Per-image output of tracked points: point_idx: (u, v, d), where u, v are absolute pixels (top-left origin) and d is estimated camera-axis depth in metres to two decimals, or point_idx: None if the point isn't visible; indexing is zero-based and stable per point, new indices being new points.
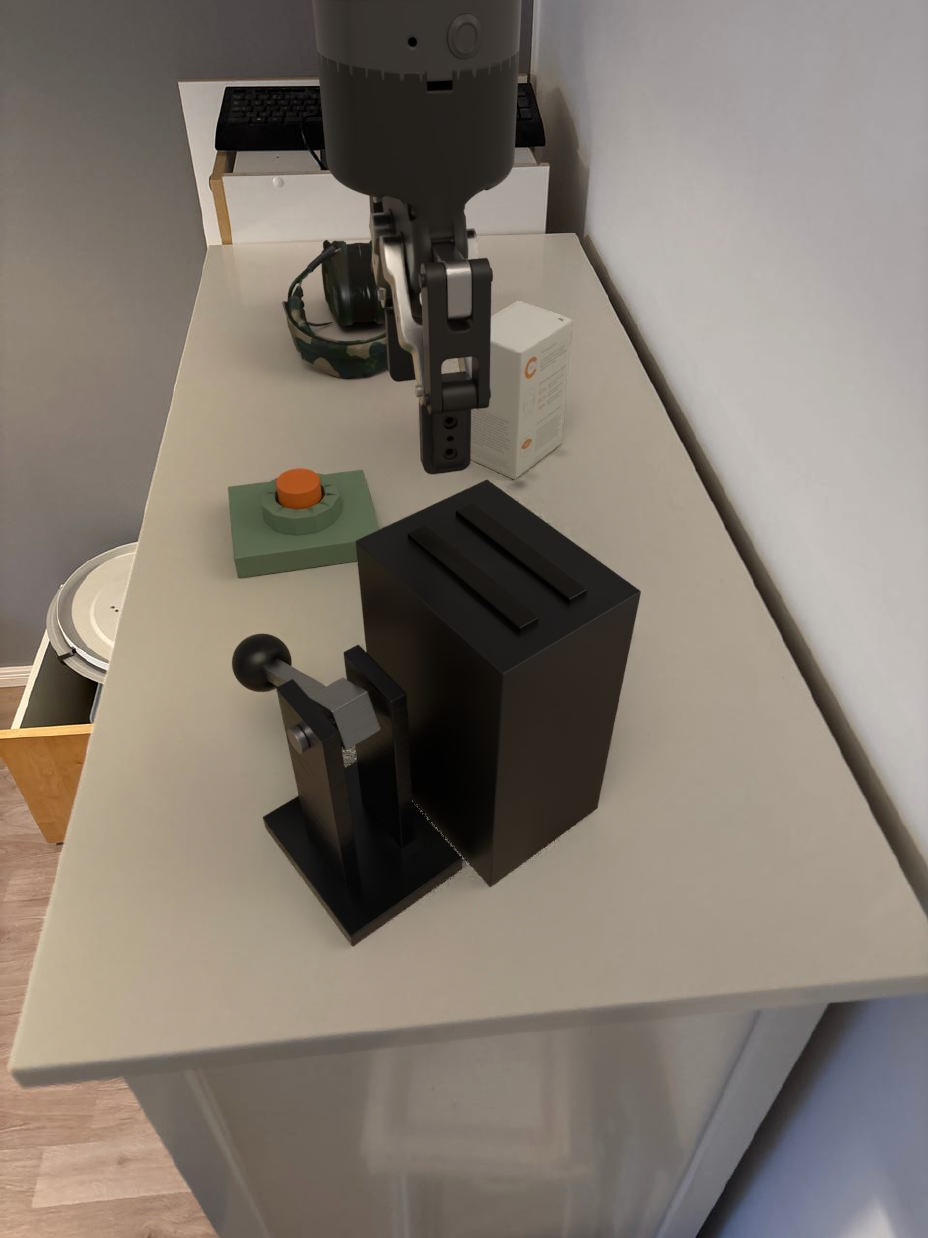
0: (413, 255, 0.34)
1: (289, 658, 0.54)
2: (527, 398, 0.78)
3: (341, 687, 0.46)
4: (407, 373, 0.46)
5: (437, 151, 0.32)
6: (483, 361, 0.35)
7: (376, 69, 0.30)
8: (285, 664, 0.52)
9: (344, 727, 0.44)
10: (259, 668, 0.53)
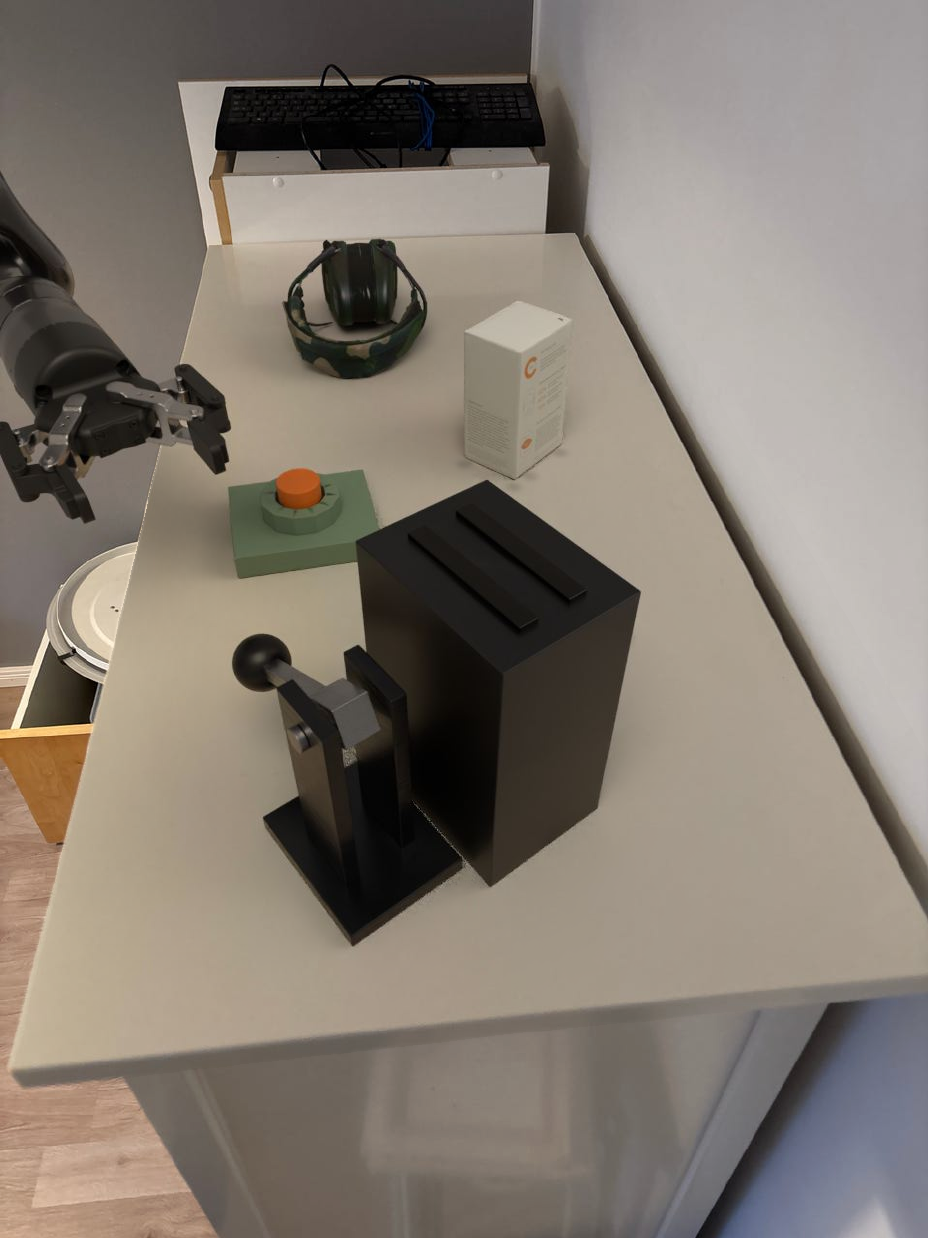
0: (148, 381, 0.61)
1: (289, 658, 0.54)
2: (527, 398, 0.78)
3: (341, 687, 0.46)
4: None
5: None
6: None
7: (104, 332, 0.63)
8: (285, 664, 0.52)
9: (344, 727, 0.44)
10: (259, 668, 0.53)
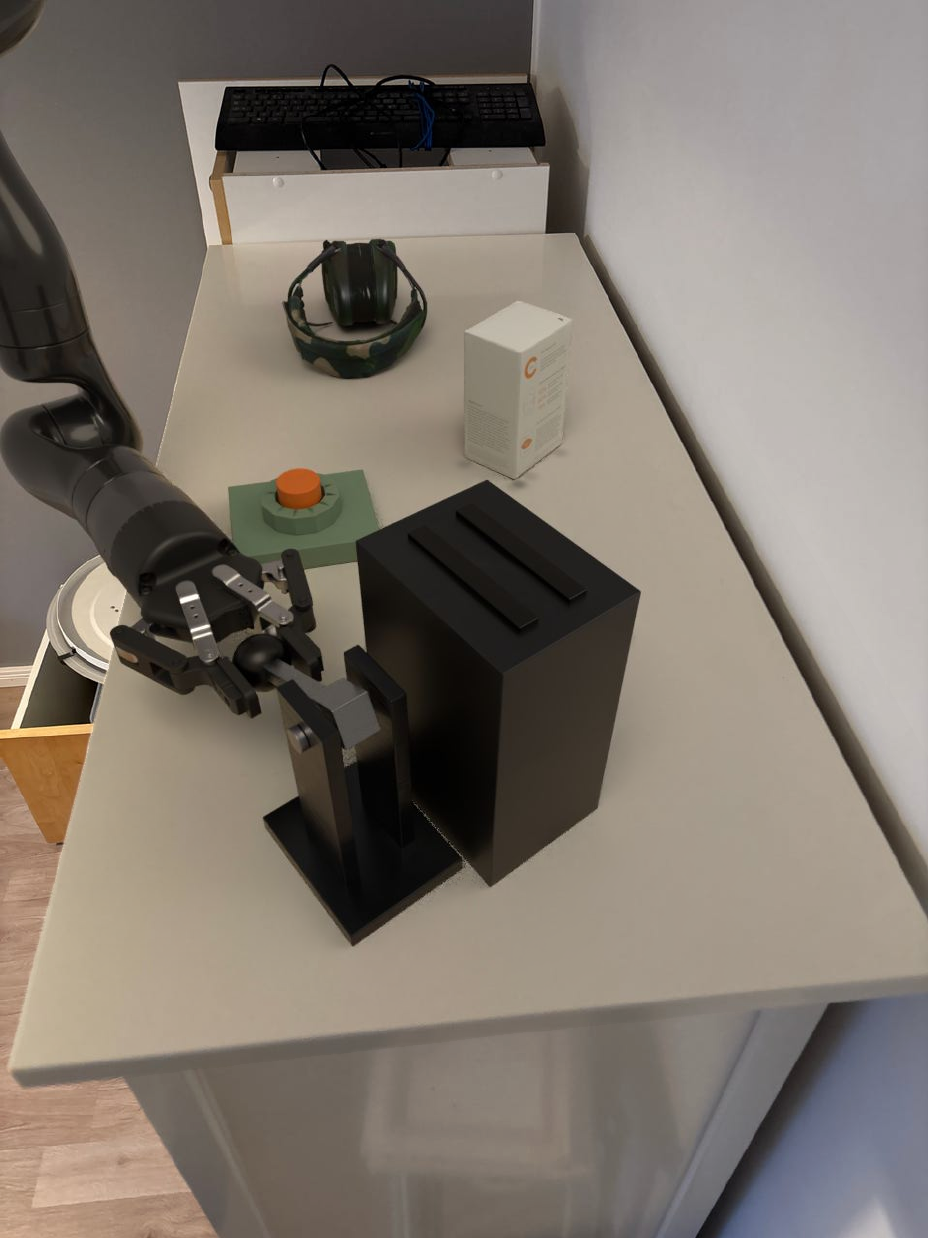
0: (250, 560, 0.60)
1: (289, 658, 0.54)
2: (527, 398, 0.78)
3: (341, 687, 0.46)
4: None
5: None
6: None
7: (198, 507, 0.62)
8: (285, 664, 0.52)
9: (344, 727, 0.44)
10: (259, 668, 0.53)
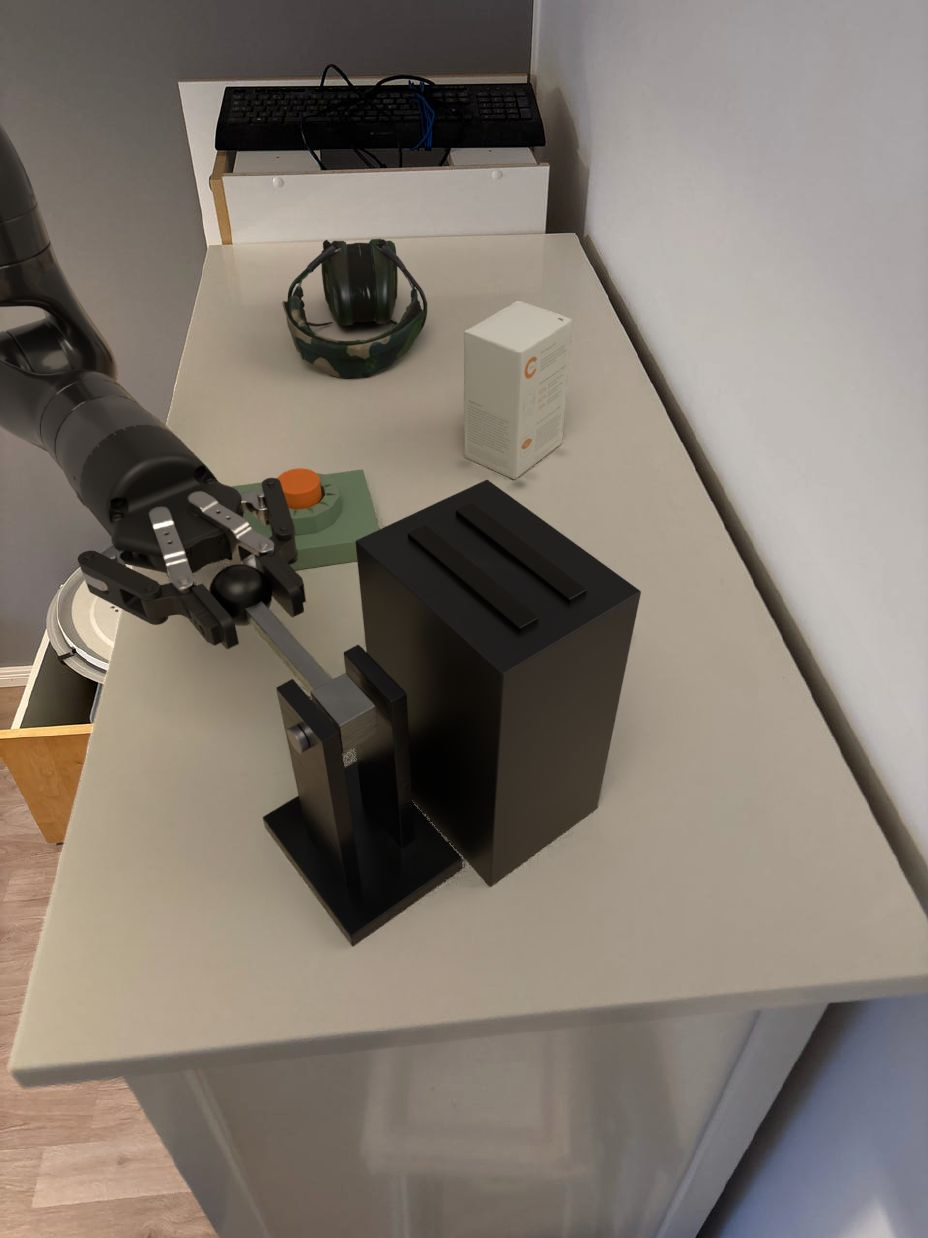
0: (229, 488, 0.57)
1: (271, 597, 0.52)
2: (527, 398, 0.78)
3: (346, 689, 0.45)
4: None
5: None
6: None
7: (174, 434, 0.59)
8: (272, 615, 0.50)
9: (347, 737, 0.45)
10: (242, 610, 0.50)
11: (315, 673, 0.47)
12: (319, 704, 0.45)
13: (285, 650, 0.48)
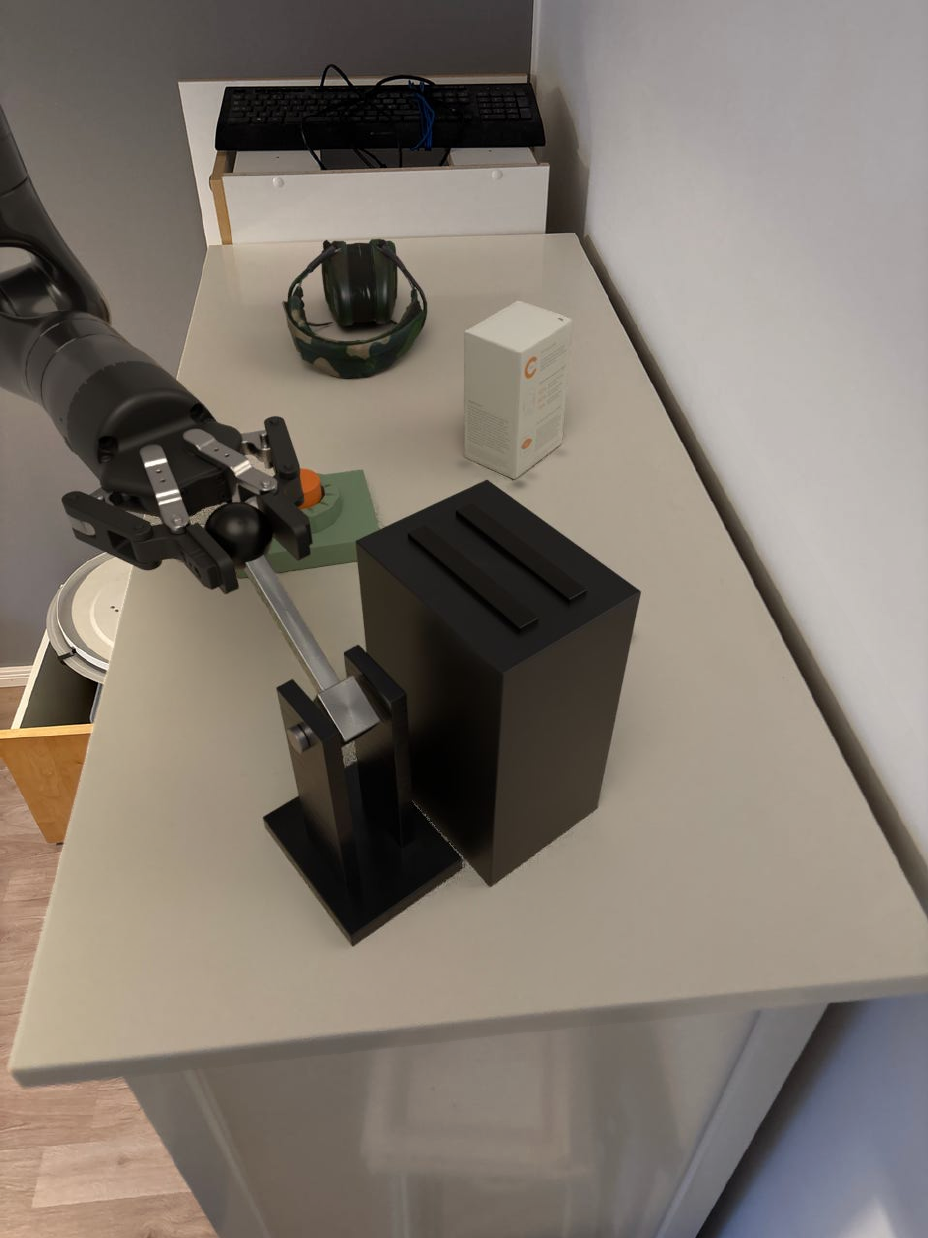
0: (228, 427, 0.52)
1: (271, 544, 0.48)
2: (527, 398, 0.78)
3: (353, 697, 0.45)
4: None
5: None
6: None
7: (168, 373, 0.54)
8: (275, 577, 0.47)
9: (346, 743, 0.45)
10: (242, 563, 0.46)
11: (319, 663, 0.46)
12: (325, 710, 0.45)
13: (289, 627, 0.46)
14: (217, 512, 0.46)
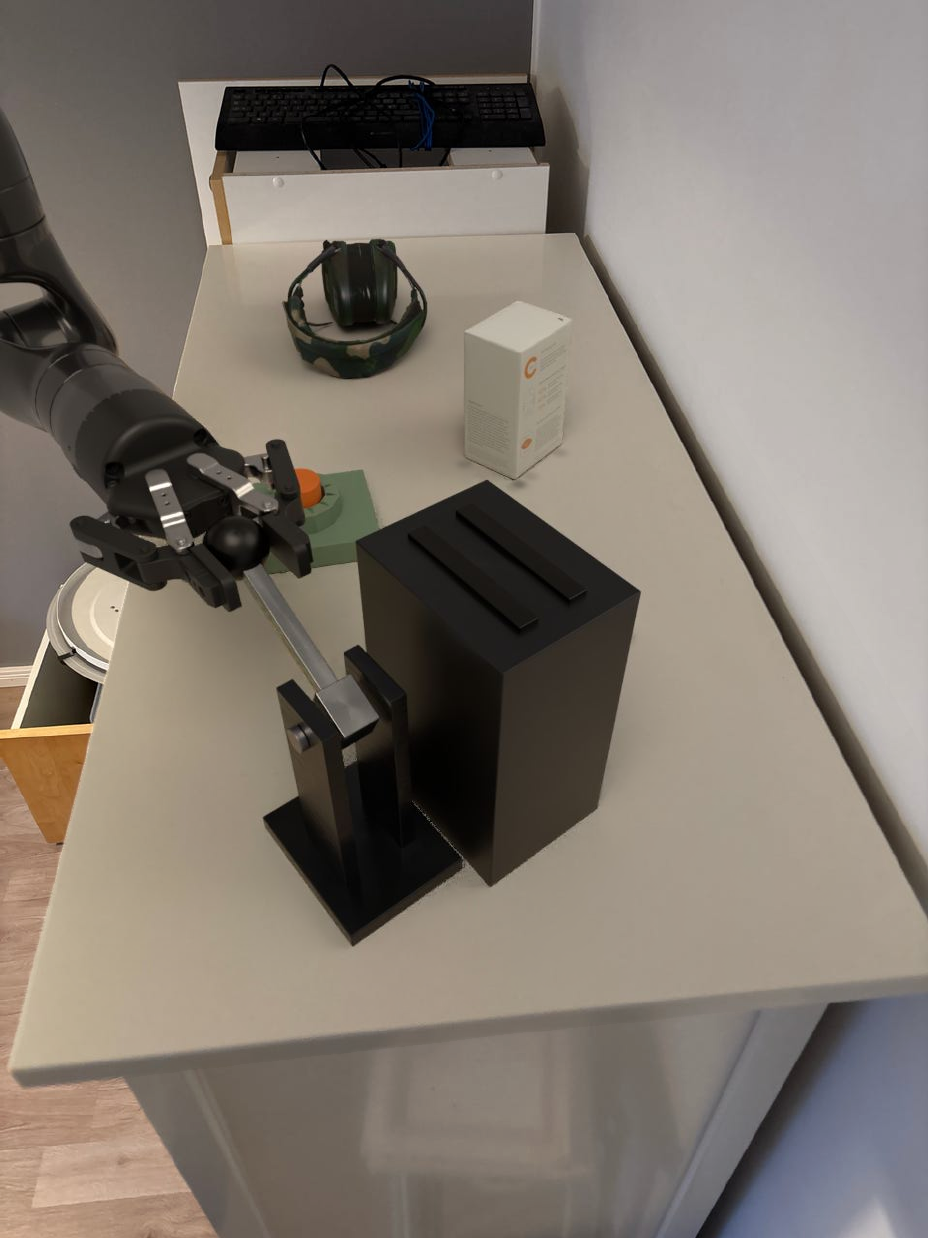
0: (231, 451, 0.53)
1: None
2: (527, 398, 0.78)
3: (351, 695, 0.45)
4: None
5: None
6: None
7: (173, 400, 0.56)
8: (272, 584, 0.47)
9: (346, 742, 0.45)
10: (240, 572, 0.47)
11: (317, 665, 0.46)
12: (323, 708, 0.45)
13: (286, 631, 0.46)
14: (214, 524, 0.47)
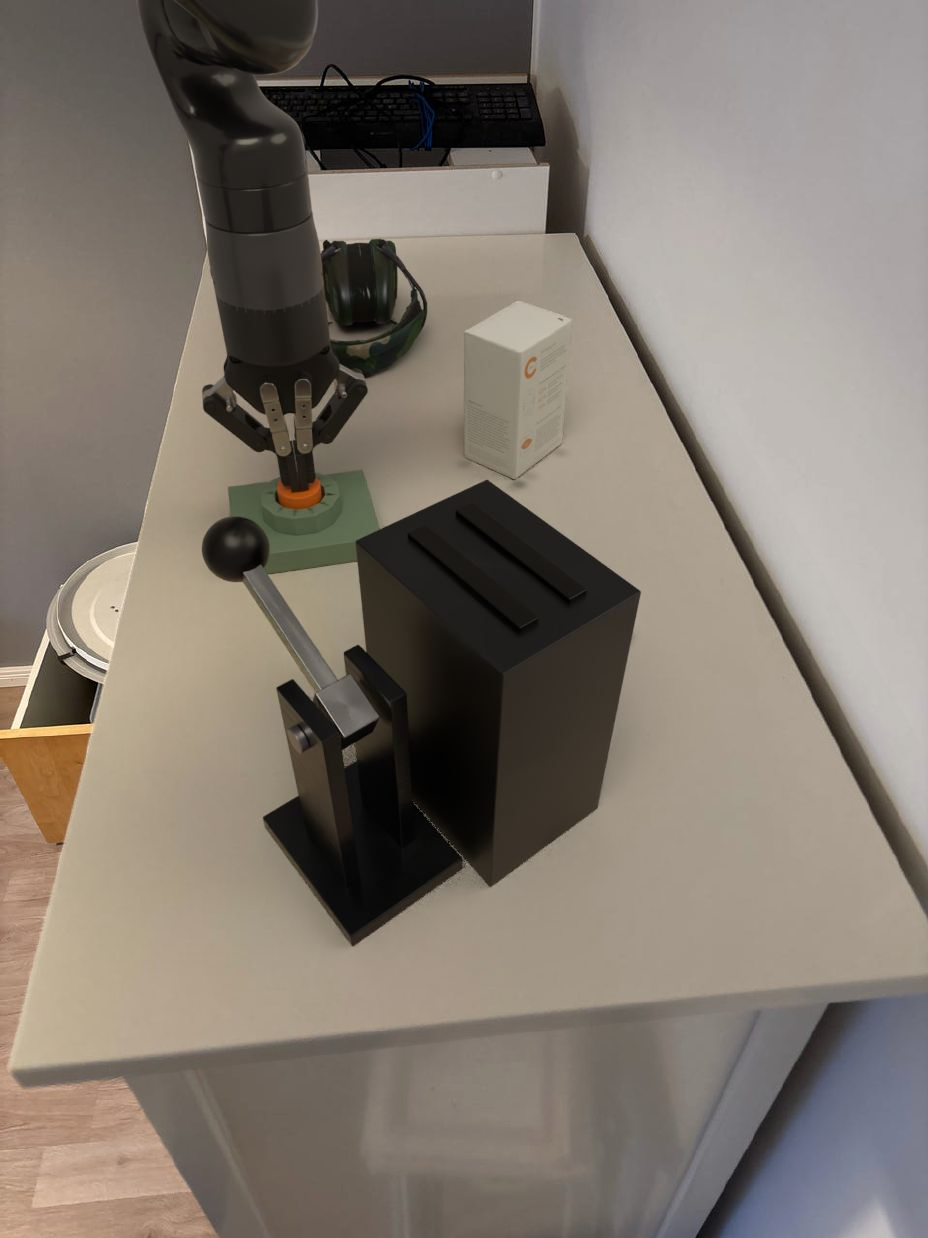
0: (332, 368, 0.66)
1: (268, 556, 0.49)
2: (527, 398, 0.78)
3: (351, 694, 0.45)
4: (298, 482, 0.73)
5: None
6: None
7: (317, 293, 0.61)
8: (272, 585, 0.47)
9: (346, 742, 0.45)
10: (240, 573, 0.47)
11: (317, 665, 0.46)
12: (323, 708, 0.45)
13: (286, 631, 0.47)
14: (214, 525, 0.47)
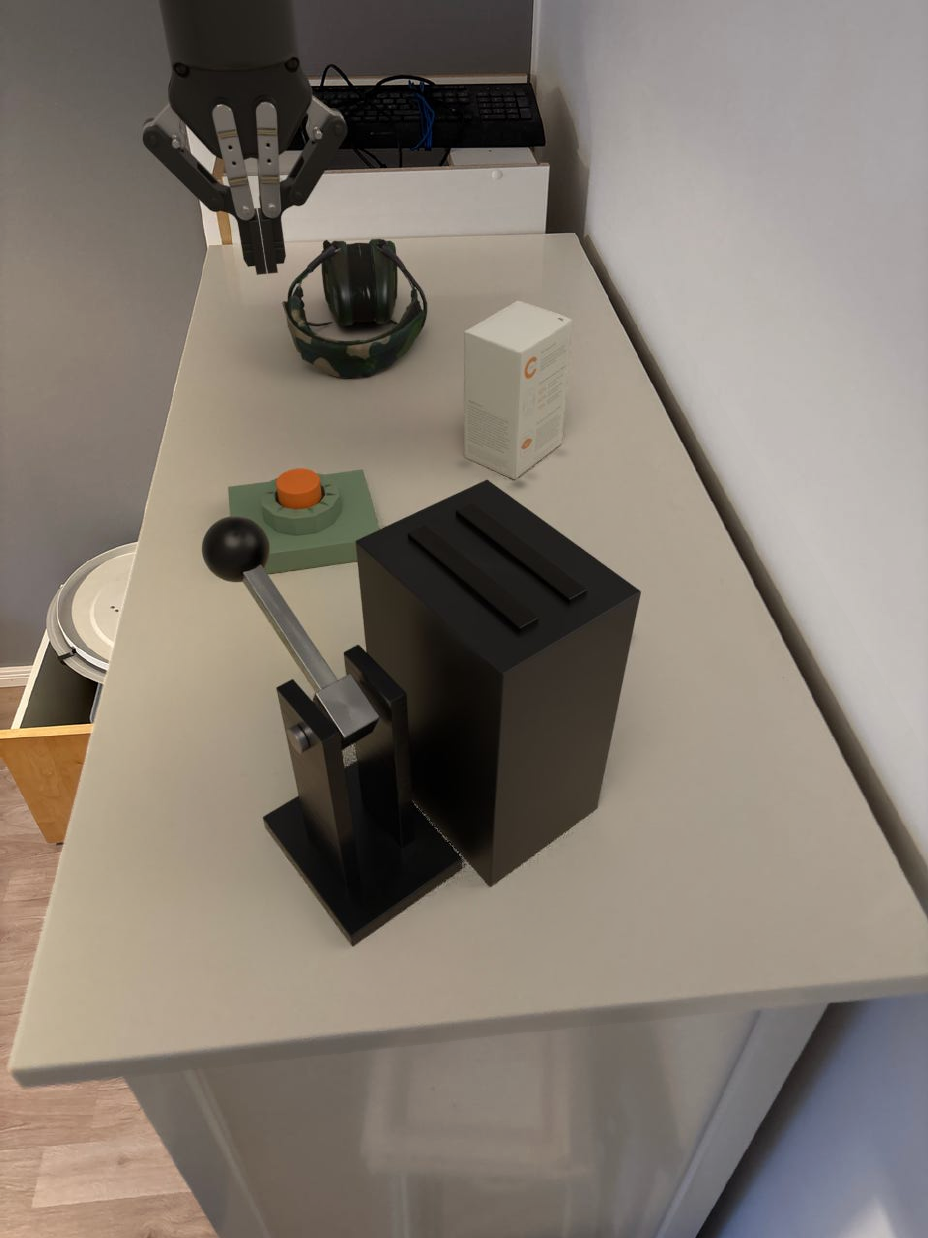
0: (303, 93, 0.53)
1: (268, 556, 0.49)
2: (527, 398, 0.78)
3: (351, 694, 0.45)
4: None
5: None
6: None
7: None
8: (272, 585, 0.47)
9: (346, 742, 0.45)
10: (240, 573, 0.47)
11: (317, 665, 0.46)
12: (323, 708, 0.45)
13: (286, 631, 0.47)
14: (214, 525, 0.47)
